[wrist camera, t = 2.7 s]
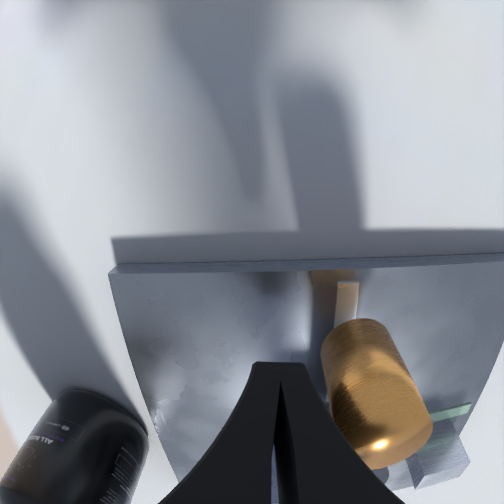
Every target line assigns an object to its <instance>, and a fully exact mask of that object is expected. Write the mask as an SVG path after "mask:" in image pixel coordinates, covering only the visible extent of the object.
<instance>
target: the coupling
mask: <svg viewBox="0 0 504 504" xmlns="http://www.w3.org/2000/svg"><path fill="white" fill-rule="evenodd" d="M320 356H321V361H322V367H323V372H324V377H325V383H326V388H327V394H328V399H329V402H328V409H327V410H328V411H329V413H330V415H331V416H332V418H333V419H334V421H335V423H336V424H337V426H338V427H339V429H340V430H341V432H342V433H343V435H344V436H345V437H346V439H347V440H348V442H349V443H350V444H351V446H352V447H353V448H354V450H355V451H356V452H357V454H358V455H359V456H360V457H361V459H362V460H363V461H364V462H365V464H366V465H367V466H368V467H369V468H370V469H371V470H372V471H373V473H374V474H375V475H376V476H377V477H378V478H379V479H380V480H381V481H382V482H383V483H384V484H385V483H386V482H387V480H388V478H389V470H388V466H391V465H393V464H396V463H398V462H400V461H402V460H404V459H406V458H408V457H410V456H411V455H413V454H414V453H415V452H417V451H418V450H419V449H420V448H421V447H422V446H423V445H424V444H425V443H426V442H427V441H428V439H429V438H430V436H431V434H432V431H433V422H432V420H431V417H430V415H429V413H428V411H427V409H426V406H425V404H424V402H423V400H422V398H421V396H420V394H419V391H418V389H417V387H416V385H415V383H414V381H413V379H412V377H411V375H410V373H409V371H408V369H407V367H406V365H405V363H404V361H403V359H402V357H401V355H400V353H399V351H398V349H397V347H396V345H395V343H394V341H393V339H392V337H391V335H390V334H389V332H388V330H387V328H386V327H385V326H384V325H383V324H382V323H380V322H378V321H376V320H373V319H368V318H359V319H353V320H349V321H347V322H344V323H342V324H340V325H339V326H337V327H336V328H334V329H333V330H332V331H331V332H330V333H329V334H328V335H327V337H326V338H325V340H324V341H323V343H322V346H321V351H320Z"/></svg>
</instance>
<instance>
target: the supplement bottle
mask: <svg viewBox="0 0 504 504" xmlns="http://www.w3.org/2000/svg"><path fill="white" fill-rule="evenodd" d="M148 451H149V441H148V438H147V435H146V433H145V431H144V430H143V428H142V427H141V425H140V424H139V423H138V422H137V421H136V420H135V419H134V418H133V417H132V416H131V415H130V414H129V413H128V412H126V411H125V410H124V409H122V408H121V407H120V406H118V405H116V404H115V403H113V402H111V401H110V400H108V399H106V398H104V397H102V396H99V395H97V394H94V393H91V392H88V391H83V390H67V391H64V392H61V393H60V394H58V395H57V396H56V398H55V399H54V400H53V401H52V403H51V404H50V406H49V407H48V408H47V410H46V411H45V413H44V414H43V415H42V417H41V418H40V420H39V421H38V423H37V424H36V426H35V427H34V429H33V430H32V432H31V433H30V435H29V436H28V438H27V439H26V441H25V442H24V444H23V446H22V447H21V449H20V450H19V452H18V454H17V455H16V457H15V458H14V460H13V461H12V463H11V464H10V466H9V468H8V469H7V471H6V473H5V474H4V476H3V478H2V479H1V481H0V504H131V501H132V498H133V495H134V492H135V489H136V487H137V484H138V481H139V478H140V475H141V472H142V470H143V467H144V464H145V461H146V458H147V455H148Z"/></svg>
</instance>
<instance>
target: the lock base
mask: <svg viewBox="0 0 504 504" xmlns="http://www.w3.org/2000/svg"><path fill="white" fill-rule="evenodd" d="M108 277H109V281H110V285H111V290H112V294H113V298H114V302H115V306H116V310H117V314H118V318H119V321H120V325H121V329H122V332H123V336H124V339H125V343H126V346H127V349H128V353H129V356H130V359H131V362H132V365H133V368H134V371H135V375H136V378H137V380H138V383H139V386H140V389H141V392H142V395H143V398H144V400H145V403H146V406H147V409H148V411H149V414H150V416H151V419H152V422H153V424H154V427H155V429H156V432H157V434H158V436H159V439H160V441H161V444H162V446H163V448H164V451H165V453H166V455H167V458H168V460H169V462H170V464H171V466H172V469H173V471H174V473H175V475H176V477H177V479H178V481H179V483H180V482H181V481H182V479H183V478H184V477H185V476H186V475H187V474H188V473H189V472H190V471H191V470H192V468H193V467H194V466H195V465H196V464H197V462H198V461H199V460H200V459H201V457H202V456H203V455H204V454H205V452H206V451H207V450H208V448H209V447H210V446H211V444H212V443H213V441H214V440H215V438H216V437H217V435H218V434H219V432H220V431H221V429H222V428H223V426H224V425H225V423H226V422H227V420H228V418H229V417H230V415H231V413H232V411H233V409H234V407H235V406H236V404H237V402H238V400H239V398H240V396H241V394H242V392H243V390H244V388H245V385H246V383H247V380H248V378H249V375H250V372H251V368H252V364H253V363H255V362H256V361H262V362H302V363H303V364H304V365H305V366H306V369H307V371H308V373H309V376H310V378H311V380H312V382H313V384H314V386H315V388H316V390H317V392H318V394H319V396H320V398H321V399H322V401H323V403H324V405H325V406H326V408H327V409H328V402H329V399H328V394H327V388H326V383H325V377H324V372H323V367H322V361H321V356H320V351H321V346H322V343H323V341H324V340H325V338H326V337H327V335H328V334H329V333H330V332H331V331H332V330H333V329H334V328H336V327H337V326H339V325H340V324H342V323H344V322H347V321H349V320H353V319H359V318H368V319H373V320H376V321H378V322H380V323H382V324H383V325H384V326H385V327H386V328H387V330H388V332H389V334H390V335H391V337H392V339H393V341H394V343H395V345H396V347H397V349H398V351H399V353H400V355H401V357H402V359H403V361H404V363H405V365H406V367H407V369H408V371H409V373H410V375H411V377H412V379H413V381H414V383H415V385H416V387H417V389H418V391H419V394H420V396H421V398H422V400H423V402H424V404H425V406H426V409H427V411H428V413H429V415H430V417H431V420H432V422H433V431H432V434H431V436H430V438H429V439H428V441H427V442H426V443H425V444H424V445H423V446H422V447H421V448H420V449H419V450H418V451H417V452H415V453H414V454H413V455H411V456H410V457H408V458H406V459H404V460H402V461H400V462H398V463H396V464H393V465H391V466H388V470H389V478H388V480H387V482H386V483H385V485H386V486H387V487H388V488H389V489H390V490H391V491H393V490H398V489H402V488H407V487H411V486H414V488H415V490H416V489H420V488H423V487H427V486H431V485H434V484H437V483H441V482H444V481H447V480H450V479H453V478H456V477H459V476H460V475H461V474H462V473H463V471H464V470H465V469H466V467H467V466H468V465H469V463H470V460H469V458H468V455H467V453H466V451H465V449H464V447H463V444H462V442H461V440H460V438H459V434H460V433H461V431H462V429H463V427H464V426H465V424H466V422H467V420H468V418H469V417H470V415H471V413H472V411H473V409H474V407H475V405H476V403H477V401H478V399H479V397H480V395H481V393H482V391H483V389H484V387H485V384H486V382H487V380H488V378H489V376H490V373H491V371H492V369H493V366H494V364H495V362H496V359H497V357H498V354H499V352H500V349H501V346H502V344H503V341H504V253H487V254H463V255H438V256H411V257H382V258H351V259H318V260H283V261H244V262H200V263H150V264H118V265H117V266H116V267H114V268H113V269H112V270H111V271H110V272H109V273H108ZM271 503H279V499H278V487H277V475H276V463H275V451H274V445H273V453H272V485H271Z"/></svg>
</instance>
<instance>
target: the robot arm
mask: <svg viewBox="0 0 504 504" xmlns="http://www.w3.org/2000/svg"><path fill="white" fill-rule="evenodd" d="M273 445H274V451H275V463H276V475H277V487H278V499H279V504H405V503H404V502H403V501H402V500H401V499H399V498H398V497H397V496H396V495H395V494H394V493H393V492H392V491H391V490H390V489H389V488H388V487H387V486H386V485H385V484H384V483H383V482H382V481H381V480H380V479H379V478H378V477H377V476H376V475H375V474H374V473H373V471H372V470H371V469H370V468H369V467H368V466H367V465H366V464H365V462H364V461H363V460H362V459H361V457H360V456H359V455H358V454H357V452H356V451H355V450H354V448H353V447H352V446H351V444H350V443H349V442H348V440H347V439H346V437H345V436H344V435H343V433H342V432H341V430H340V429H339V427H338V426H337V424H336V423H335V421H334V419H333V418H332V416H331V415H330V413H329V411H328V410H327V408H326V406H325V405H324V403H323V401H322V399H321V398H320V396H319V394H318V392H317V390H316V388H315V386H314V384H313V382H312V380H311V378H310V376H309V373H308V371H307V369H306V366H305V365H304V364H303V363H302V362H262V361H256V362H255V363H253V364H252V368H251V372H250V375H249V378H248V380H247V383H246V385H245V388H244V390H243V392H242V394H241V396H240V398H239V400H238V402H237V404H236V406H235V407H234V409H233V411H232V413H231V415H230V417H229V418H228V420H227V422H226V423H225V425H224V426H223V428H222V429H221V431H220V432H219V434H218V435H217V437H216V438H215V440H214V441H213V443H212V444H211V446H210V447H209V448H208V450H207V451H206V452H205V454H204V455H203V456H202V457H201V459H200V460H199V461H198V462H197V464H196V465H195V466H194V467H193V468H192V470H191V471H190V472H189V473H188V474H187V475H186V476H185V477H184V478H183V479H182V481H181V482H180V483H179V484H178V485H177V486H176V487H175V488H174V489H173V490H172V491H171V492H170V493H169V494H168V495H167V496H166V497H165V498H164V499H163V500H161V501H160V502H159V503H158V504H271V485H272V453H273Z"/></svg>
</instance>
